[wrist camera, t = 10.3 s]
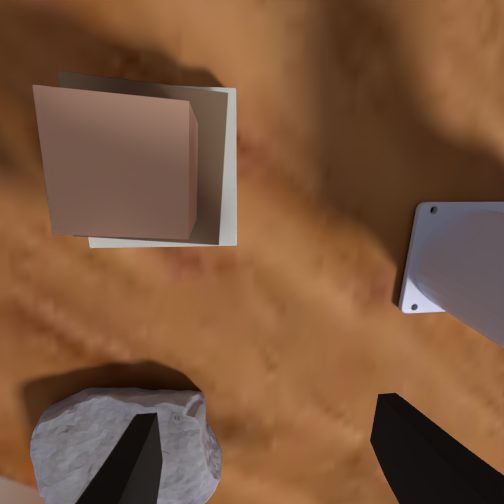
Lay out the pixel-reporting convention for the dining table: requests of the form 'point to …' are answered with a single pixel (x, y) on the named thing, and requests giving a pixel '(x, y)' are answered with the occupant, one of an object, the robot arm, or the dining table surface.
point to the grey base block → (228, 190)
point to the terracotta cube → (118, 163)
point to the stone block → (110, 431)
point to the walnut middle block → (209, 143)
